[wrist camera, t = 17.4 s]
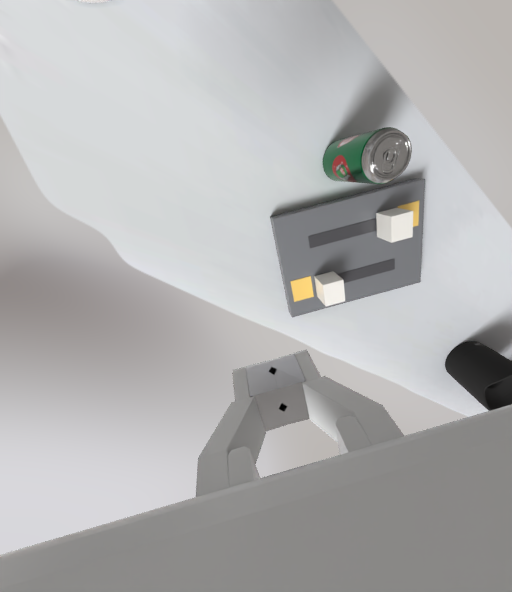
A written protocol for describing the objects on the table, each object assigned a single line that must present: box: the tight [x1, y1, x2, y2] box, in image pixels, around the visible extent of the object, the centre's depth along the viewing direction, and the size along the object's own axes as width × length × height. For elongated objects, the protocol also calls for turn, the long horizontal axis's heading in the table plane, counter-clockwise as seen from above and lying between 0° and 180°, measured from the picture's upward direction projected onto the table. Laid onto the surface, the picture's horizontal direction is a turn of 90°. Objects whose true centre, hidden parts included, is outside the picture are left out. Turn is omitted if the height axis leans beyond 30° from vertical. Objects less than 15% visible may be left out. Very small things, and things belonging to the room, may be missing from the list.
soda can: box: [323, 127, 412, 184], centre depth 31 cm, size 5×5×12 cm
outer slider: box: [314, 271, 345, 306], centre depth 40 cm, size 4×3×4 cm
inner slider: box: [376, 208, 413, 243], centre depth 37 cm, size 4×3×4 cm
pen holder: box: [445, 342, 512, 411], centre depth 52 cm, size 9×9×10 cm
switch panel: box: [270, 179, 425, 317], centre depth 42 cm, size 16×22×2 cm
